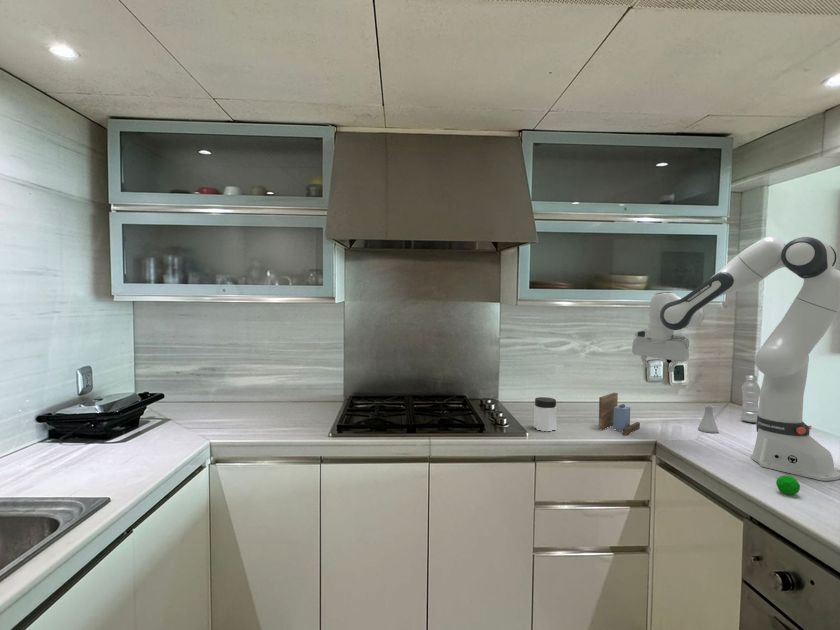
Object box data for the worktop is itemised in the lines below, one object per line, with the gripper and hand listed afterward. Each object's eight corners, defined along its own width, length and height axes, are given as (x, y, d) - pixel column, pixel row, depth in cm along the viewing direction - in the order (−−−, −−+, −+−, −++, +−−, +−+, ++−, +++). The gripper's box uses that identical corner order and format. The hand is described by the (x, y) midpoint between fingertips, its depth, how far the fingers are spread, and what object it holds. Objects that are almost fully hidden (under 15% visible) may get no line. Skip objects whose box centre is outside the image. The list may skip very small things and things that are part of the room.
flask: (722, 434, 178) (723, 408, 178) (701, 432, 180) (702, 407, 179) (714, 429, 185) (715, 404, 185) (694, 427, 187) (695, 403, 186)
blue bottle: (629, 429, 183) (630, 404, 183) (624, 432, 180) (625, 406, 179) (618, 427, 186) (619, 402, 186) (613, 429, 183) (613, 404, 183)
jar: (558, 432, 178) (559, 401, 178) (538, 432, 178) (538, 401, 178) (551, 425, 187) (552, 396, 187) (531, 425, 187) (532, 396, 186)
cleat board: (639, 428, 185) (640, 396, 184) (625, 435, 175) (626, 401, 174) (613, 423, 192) (614, 392, 192) (598, 429, 183) (599, 397, 182)
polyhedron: (802, 499, 120) (802, 481, 120) (779, 495, 122) (779, 478, 122) (796, 492, 124) (796, 474, 124) (773, 488, 126) (774, 471, 126)
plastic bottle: (757, 425, 192) (759, 377, 191) (738, 421, 197) (740, 375, 196) (761, 422, 196) (763, 376, 195) (742, 419, 201) (744, 374, 200)
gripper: (693, 336, 170) (690, 373, 171) (639, 331, 186) (636, 364, 187) (685, 337, 166) (683, 375, 167) (631, 331, 182) (628, 366, 183)
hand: (658, 369), depth 177 cm, fingers open, 8 cm apart
